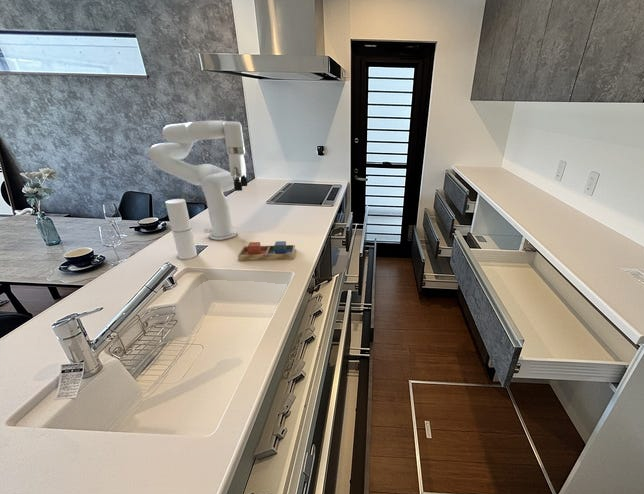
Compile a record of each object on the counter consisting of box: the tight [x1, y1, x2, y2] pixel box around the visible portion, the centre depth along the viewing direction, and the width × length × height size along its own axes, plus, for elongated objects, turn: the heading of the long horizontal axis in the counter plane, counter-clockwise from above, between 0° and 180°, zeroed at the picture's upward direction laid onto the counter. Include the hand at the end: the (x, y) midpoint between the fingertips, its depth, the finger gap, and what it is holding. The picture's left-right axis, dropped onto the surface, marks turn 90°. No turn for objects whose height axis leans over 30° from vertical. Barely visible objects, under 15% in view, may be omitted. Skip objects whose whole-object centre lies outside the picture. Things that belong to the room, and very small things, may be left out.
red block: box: [247, 241, 262, 255], centre depth 136 cm, size 4×4×5 cm
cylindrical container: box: [164, 198, 198, 260], centre depth 130 cm, size 7×7×25 cm
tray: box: [237, 244, 296, 262], centre depth 137 cm, size 23×10×2 cm, turn 98°
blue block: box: [273, 240, 287, 254], centre depth 137 cm, size 4×4×5 cm
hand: (241, 188), depth 144 cm, fingers open, 9 cm apart
